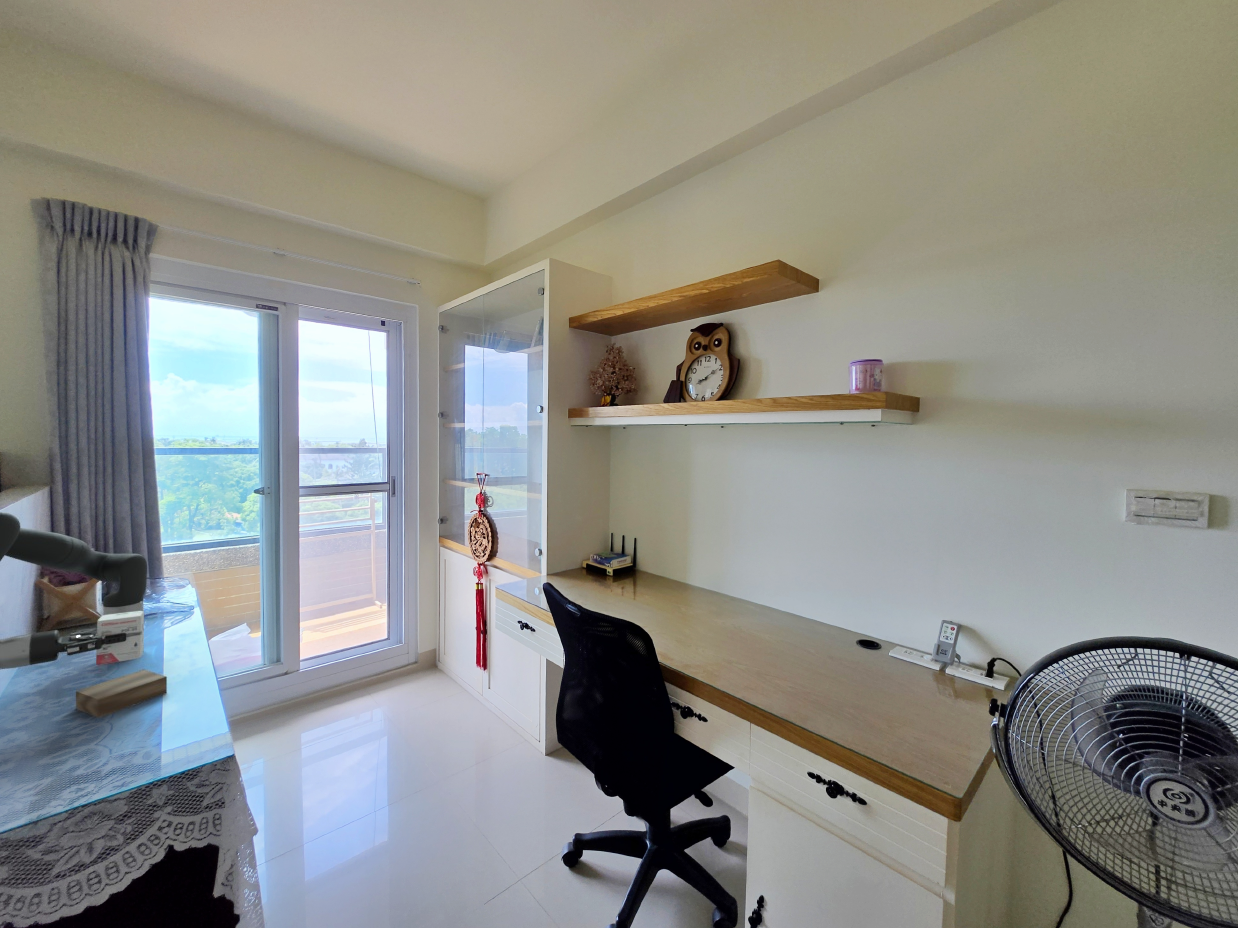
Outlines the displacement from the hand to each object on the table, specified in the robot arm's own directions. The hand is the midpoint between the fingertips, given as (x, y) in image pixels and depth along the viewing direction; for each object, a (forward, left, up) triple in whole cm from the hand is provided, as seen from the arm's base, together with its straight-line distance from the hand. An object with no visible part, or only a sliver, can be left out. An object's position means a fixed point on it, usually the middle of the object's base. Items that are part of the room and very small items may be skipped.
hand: (126, 633), depth 133 cm
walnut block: (+1, -1, -18) cm, 18 cm away
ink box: (0, -1, -7) cm, 7 cm away
